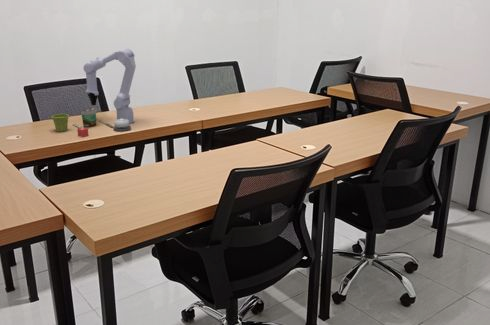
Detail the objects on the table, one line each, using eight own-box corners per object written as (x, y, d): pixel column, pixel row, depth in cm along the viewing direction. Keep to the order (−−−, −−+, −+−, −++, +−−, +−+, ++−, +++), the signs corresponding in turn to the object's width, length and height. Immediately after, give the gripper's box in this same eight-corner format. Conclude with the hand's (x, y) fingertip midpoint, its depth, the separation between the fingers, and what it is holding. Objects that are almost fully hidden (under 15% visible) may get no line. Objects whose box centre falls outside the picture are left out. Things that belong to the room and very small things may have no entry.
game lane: (101, 120, 306) (101, 119, 305) (114, 127, 291) (114, 126, 290) (72, 125, 295) (72, 124, 295) (84, 132, 280) (84, 131, 280)
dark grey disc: (126, 126, 294) (126, 124, 293) (133, 129, 286) (133, 127, 286) (110, 128, 288) (110, 126, 288) (117, 132, 281) (117, 130, 280)
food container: (92, 128, 288) (90, 111, 285) (82, 128, 289) (80, 111, 286) (102, 123, 300) (100, 107, 296) (92, 122, 301) (91, 106, 297)
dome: (125, 123, 292) (125, 116, 290) (131, 126, 286) (130, 119, 284) (112, 125, 287) (112, 118, 286) (118, 128, 281) (117, 121, 280)
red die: (84, 134, 277) (83, 126, 275) (88, 135, 274) (87, 128, 273) (78, 135, 274) (77, 128, 272) (82, 137, 271) (81, 129, 270)
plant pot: (65, 133, 279) (63, 118, 276) (49, 132, 281) (47, 117, 278) (73, 128, 288) (72, 114, 285) (58, 127, 289) (57, 113, 287)
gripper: (81, 81, 302) (83, 103, 307) (89, 85, 291) (91, 108, 296) (92, 80, 306) (94, 102, 311) (101, 84, 295) (102, 106, 300)
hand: (93, 105), depth 304 cm, fingers closed
